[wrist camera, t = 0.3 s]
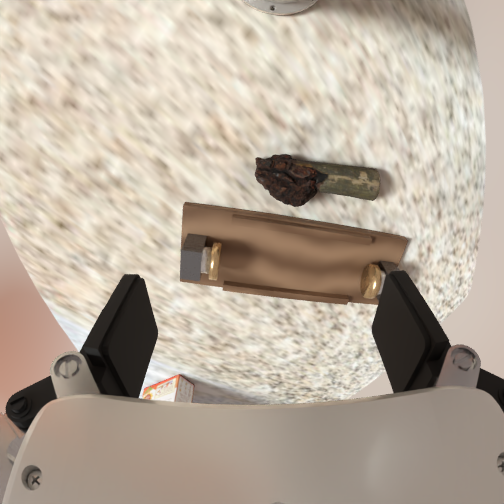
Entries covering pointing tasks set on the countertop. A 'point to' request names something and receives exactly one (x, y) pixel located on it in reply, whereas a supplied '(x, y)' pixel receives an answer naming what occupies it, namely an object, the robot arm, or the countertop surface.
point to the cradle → (289, 254)
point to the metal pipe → (314, 179)
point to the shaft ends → (208, 258)
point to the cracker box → (170, 390)
